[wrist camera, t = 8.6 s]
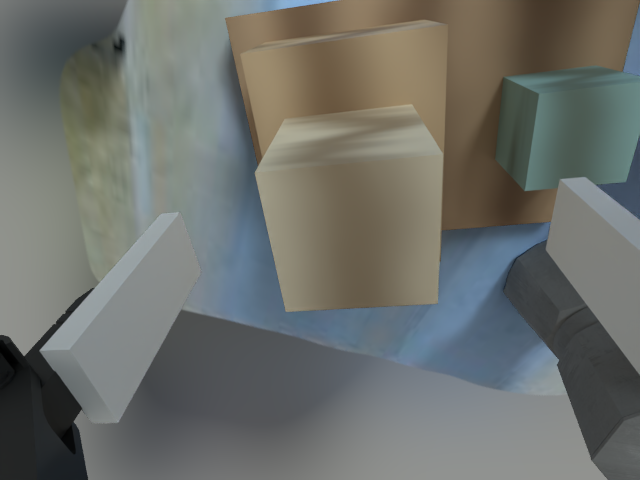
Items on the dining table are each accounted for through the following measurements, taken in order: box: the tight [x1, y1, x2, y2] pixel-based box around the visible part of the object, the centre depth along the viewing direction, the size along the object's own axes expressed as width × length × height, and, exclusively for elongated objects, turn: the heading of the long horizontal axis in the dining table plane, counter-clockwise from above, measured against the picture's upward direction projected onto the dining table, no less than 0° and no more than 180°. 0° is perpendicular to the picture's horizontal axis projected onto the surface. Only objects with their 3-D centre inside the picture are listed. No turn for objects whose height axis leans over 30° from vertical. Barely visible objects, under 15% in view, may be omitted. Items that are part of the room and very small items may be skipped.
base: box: [225, 0, 640, 262], centre depth 23 cm, size 22×15×9 cm
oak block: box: [255, 104, 443, 312], centre depth 17 cm, size 6×6×7 cm
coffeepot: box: [503, 240, 640, 480], centre depth 26 cm, size 15×9×18 cm, turn 18°
